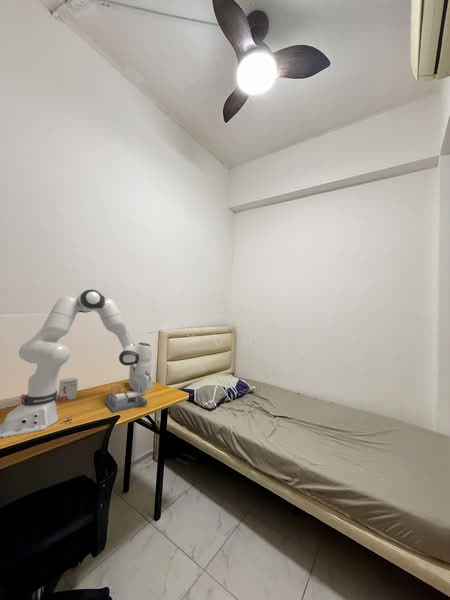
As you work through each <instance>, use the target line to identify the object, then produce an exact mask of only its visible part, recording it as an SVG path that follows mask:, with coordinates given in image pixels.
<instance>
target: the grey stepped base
mask: <svg viewBox="0 0 450 600" xmlns="http://www.w3.org/2000/svg"><path fill="white" fill-rule="evenodd" d="M104 403H105V405H106V407H107V408H108V409H109V410H110V411H111V412H112V413H113V414H115V413H119V412H123V411H127V410H131V409H135V408H139V407H143V406H148V400H147V399H146V398H144V397H143V396H142V395H141V396H136V397H131V398H127V397H126V398H125V399H120V400H116V399H115V396H112V395H111V392H109V393H108V397H107V400H105V402H104Z"/></svg>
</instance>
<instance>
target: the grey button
mask: <svg viewBox="0 0 450 600" xmlns="http://www.w3.org/2000/svg"><path fill="white" fill-rule="evenodd" d="M125 398H126V393H124V392H121V394H116V395H115V399H116V400H120V399H125Z"/></svg>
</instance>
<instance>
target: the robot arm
mask: <svg viewBox="0 0 450 600" xmlns="http://www.w3.org/2000/svg"><path fill="white" fill-rule="evenodd" d="M92 311H94V312H96V313H97V314H98V315H99V318H100V320H101V323H102V325H103V326H104V327H105V330H107V331H108V332H110V333H112V334H114V335H116V337H117V339H118V340H119V343H120V345H121V347H122V351H121V353H120V354H119V356H118V360H119V362H120V364H121V365H123V366H130V365H133V364H136V367H133V371H134V372H133V380H134V382H136V383H137V384H139V388H140V391H141V392H145V389H146V391H148V390H151V389H153V386H154V385H153V383H154V382H153V381H154V380H153V376H152V375H151V373H152V363H151V362H152V353H153V352H152V351H153V350H152V346H151V345H150V344H149V343H146V342H138V343H137V344H135V343H133V341H132V338H131V336H130V335H129V332H128V331H127V328H126V325H125V321H124V318H123V315H122V313H121V311H120V309H119V306H118V305H117V303H116V302H115V300H113V299H112V298H106V297H105V296H104V295H102V294H101V292H99V291H98V290H96V289H86V290H84V291H83V292H82V293H80V294H79V295H78V296H77V297H73V296H69V295H65V296H61V297H60V298H59V299H58V300H57V301H56V303H54V306H53V307H52V309H51V311H50V312H49V314H48V316H47V318H46V319H45V322H44V324H43V325H42V327H41V328H40V329H39V331H38V332H37V333H36V334H35V335H34V336H33V337H32V338H31V339H30V340H28V341H26V342H24V343H23V344H22V345H21V346H20V348H19V350H18V356H19V357H20V359H21V360H23V361H24V362H26V363H30V364H36V366H37V367H36V369H35V372H34V374H32V375H31V376H30V377H29V378H28V381H27V382H28V383H27V394H21V395H20V398H19V399H20V400H21V401H20V402H21V403H20V404H19V405H18V406H17V407H15V408H14V409H12V410H11V411H9V413H8V414H7V415H6V416H5V419H4V421H3V422H2V423H1V424H0V438H1V437H3V438H7V437H8V436H9V437H14V436H18V435H24V434H29V433H35V432H39V431H44V430H46V429H48V427H50V426H52V425H54V424H55V423H56V422H58V421H59V415H58V409H57V402H58V390H57V385H58V375H59V372H60V370H61V368H62V366H64V364H66V363H67V362H68V360H69V359H70V357H71V350H70V348H69V347H68V346H67V345H64V344H63V343H61V342H58V341H59V340H60V339H61V338H63V337H64V336H67V334H68V333H69V332H70V330H71V327H72V326H73V325H72V324H73V323H74V321H75V318H76V316H77V315H78V313H87V314H88V313H90V312H92Z"/></svg>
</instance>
